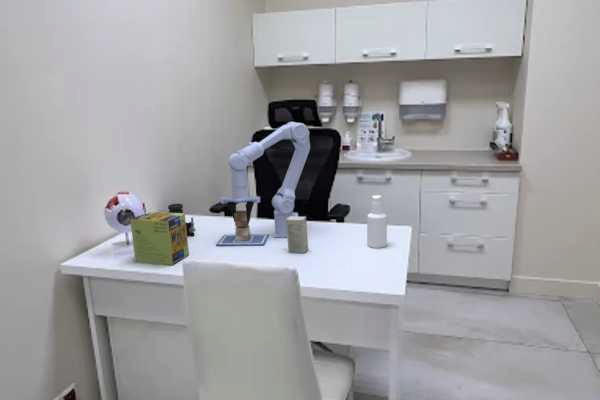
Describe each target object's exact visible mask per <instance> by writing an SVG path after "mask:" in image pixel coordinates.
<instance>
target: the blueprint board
mask: <svg viewBox="0 0 600 400" xmlns="http://www.w3.org/2000/svg"><path fill="white" fill-rule="evenodd" d="M269 236H270V233H258V234H257V233H254V234H253V233H250V239H249V240H248V241H236V234H223V236H221V238H220V239H219V241H218V242H217V243H216V247H250V246H251V247H257V246H258V247H261V246H263V247H265V245H266V243H267V241H268V239H269Z"/></svg>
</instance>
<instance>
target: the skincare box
mask: <svg viewBox="0 0 600 400" xmlns="http://www.w3.org/2000/svg"><path fill="white" fill-rule="evenodd" d="M286 226H287V237H286V238H287V247H288V248H287V249H288V253H295V254H306V253H307V251H308V250H309V241H308V226H307V216H298V217H297V216H290V217H289V218H287V219H286Z"/></svg>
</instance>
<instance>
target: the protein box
mask: <svg viewBox="0 0 600 400" xmlns="http://www.w3.org/2000/svg"><path fill="white" fill-rule="evenodd" d="M129 221H130V227H131V228H130V230H131V236H132V245H133V253H134V261H135V262H136V263H143V264H144V263H145V264H146V263H147V264H153V265H154V264H155V265H165V266H174V265H175V264H178V263H180V262H181V261H182V260H184V259H185V258H187V257H188V256H190V252H189V251H190V250H189V240H188V237H187V230H186V223H187V221H186V213H184V212H183V213H169V211H168V212H164V211H163V212H162V211H161V212H159V211H147V212H145V213H142V214H140V215H138V216H135V217H132V218H130V220H129Z"/></svg>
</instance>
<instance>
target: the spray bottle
mask: <svg viewBox="0 0 600 400" xmlns="http://www.w3.org/2000/svg"><path fill="white" fill-rule="evenodd" d="M387 221H388V216H387V214H386V213H384V209H383V197H382V195H371V206H370V213H368V214H367V216H366V226H367V227H366V231H367V232H366V233H367V235H366V236H367V240H366V241H367V246H368V247H370V248H373V249H382V248H385V247H387V245H388V244H387V240H388V239H387V238H388V236H387V235H388V234H387V233H388V232H387V230H388V228H387V227H388V222H387Z"/></svg>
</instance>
